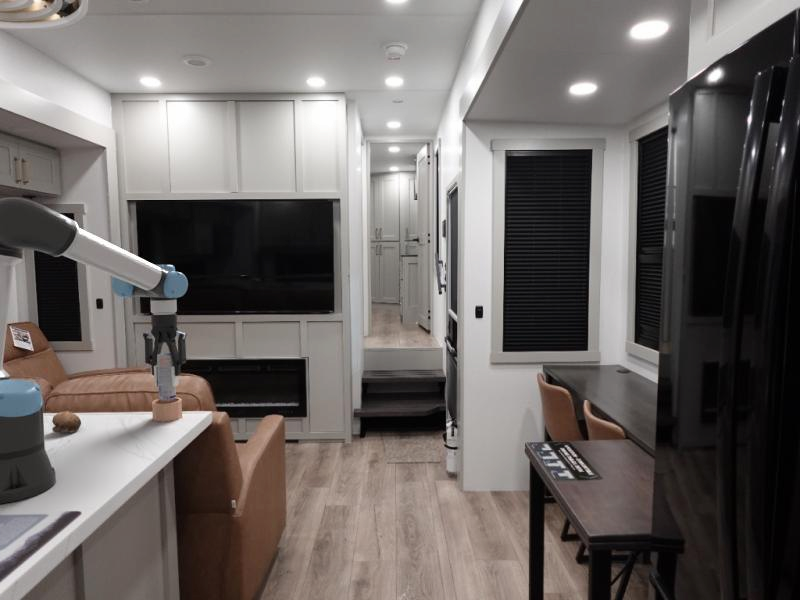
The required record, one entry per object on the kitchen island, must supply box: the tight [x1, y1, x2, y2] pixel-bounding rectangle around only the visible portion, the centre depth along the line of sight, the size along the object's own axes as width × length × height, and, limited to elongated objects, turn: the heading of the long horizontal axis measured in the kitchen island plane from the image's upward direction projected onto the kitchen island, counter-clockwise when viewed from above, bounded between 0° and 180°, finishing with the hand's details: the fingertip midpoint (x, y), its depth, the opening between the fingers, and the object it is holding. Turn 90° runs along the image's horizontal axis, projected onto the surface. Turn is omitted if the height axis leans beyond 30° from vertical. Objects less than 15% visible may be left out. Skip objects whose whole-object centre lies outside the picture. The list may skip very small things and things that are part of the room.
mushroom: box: [51, 410, 82, 434], centre depth 153 cm, size 8×8×6 cm
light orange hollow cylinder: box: [151, 397, 183, 423], centre depth 166 cm, size 9×9×6 cm
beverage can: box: [157, 352, 177, 402], centre depth 166 cm, size 5×5×15 cm
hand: (166, 385), depth 166 cm, fingers closed on beverage can, 5 cm apart
